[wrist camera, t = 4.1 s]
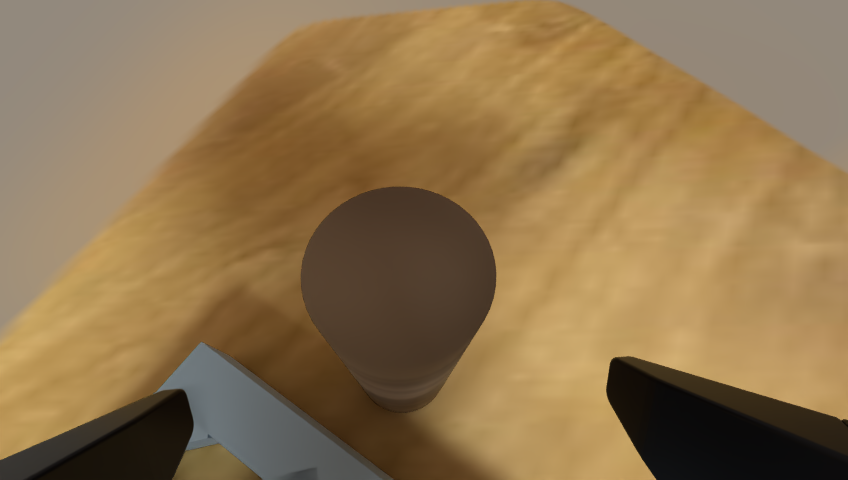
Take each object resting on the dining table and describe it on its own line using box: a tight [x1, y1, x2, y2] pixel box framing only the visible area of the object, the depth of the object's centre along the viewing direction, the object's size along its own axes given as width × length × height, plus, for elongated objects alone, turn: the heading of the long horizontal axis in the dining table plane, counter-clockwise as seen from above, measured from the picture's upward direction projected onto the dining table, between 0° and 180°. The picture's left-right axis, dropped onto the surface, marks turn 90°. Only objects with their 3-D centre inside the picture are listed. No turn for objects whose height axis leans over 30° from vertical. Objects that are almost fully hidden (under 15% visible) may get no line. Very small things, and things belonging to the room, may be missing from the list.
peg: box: [301, 187, 496, 413], centre depth 14 cm, size 4×4×12 cm
